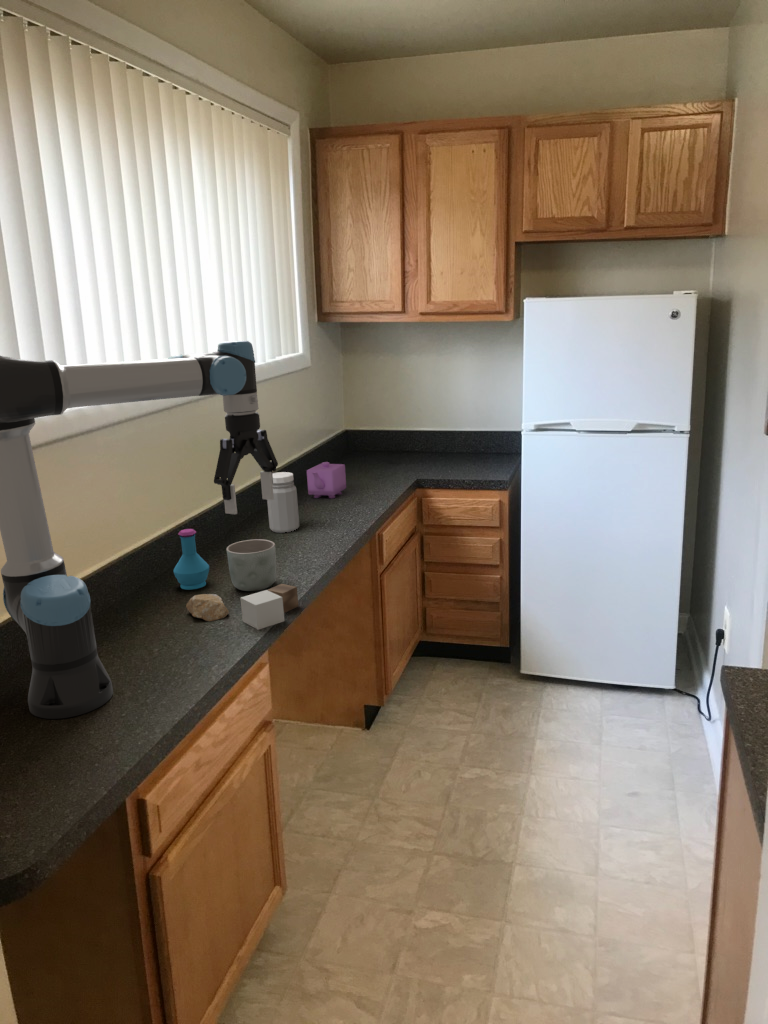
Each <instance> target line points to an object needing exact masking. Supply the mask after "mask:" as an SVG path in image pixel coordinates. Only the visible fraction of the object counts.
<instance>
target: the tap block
mask: <svg viewBox="0 0 768 1024" xmlns="http://www.w3.org/2000/svg"><path fill="white" fill-rule="evenodd" d="M239 600H240V608H241V618H242V622H243V623H245V624H246V625H249V626H250V627H252V628H254V629H256V630H258V631H259V630H262V629H264V628H268V627H271V626H274V625H277V624H280V623H284V622H285V613H284V610H283V599H282V597H281V596H279V595H277V594H274V593H272V592H270V591H268V589H264V590H260V591H257V592H255V593H251V594H249V595H245V596H241V597H240V599H239Z"/></svg>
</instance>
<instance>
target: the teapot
mask: <svg viewBox="0 0 768 1024" xmlns="http://www.w3.org/2000/svg"><path fill="white" fill-rule="evenodd" d="M306 479H307V482H306V483H307V491H308V494H307V495H309V496H313V498H314V499H317V498H318V499H319V498H321V497H322V496H328V499H336V495H337V496H338V495H339V496H340V495H342V494H343V493H342V492H343V491H345V489H347V480H346V479H347V477H346V465H345V463H344V464H342V463H330V462H328V461H324V462H321V463H318V464H317V465H315V466H313V467H311V468H309V469H306Z"/></svg>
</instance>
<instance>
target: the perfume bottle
mask: <svg viewBox="0 0 768 1024" xmlns="http://www.w3.org/2000/svg"><path fill="white" fill-rule="evenodd" d="M196 534H197V531H196V530H195V529H194V528H185V529H181V530H180V531H179V532H177V535H179V539H180V543H181V544H180V545H181V550H182V551H181V553H182V554H181V557H180V558H179V560H178V562H177V563H176V565H175V566H174V568H173V575H174V577H175V578H176V579H177V582H178V584H180V588H181V589H182V590H186V591H187V590H188V591H190V590H191V591H192V590H198V589H201V588H203V587H205V586H206V585H207V582H206V580H207V579H208V576H209V572H210V564H208V563H207V561H205V560H204V558H203V557H201V556H200V554H199V553H197V546H196Z"/></svg>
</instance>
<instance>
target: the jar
mask: <svg viewBox="0 0 768 1024" xmlns="http://www.w3.org/2000/svg"><path fill="white" fill-rule="evenodd" d="M272 475H273V495H274V499H273V500H266V503H267V512H268V523H269V529H270V530H271V531H272V532H273V533H278V534H279V533H280V534H285V532H287V533H291V531H292V532H295V531H297V530H298V528H299V527H300V517H299V505H298V502H299V501H298V493H297V487H296V485H295V482H294V473H293V472H289V471H287V472H286V471H281V472H280V471H279V472H272ZM296 529H297V530H296ZM294 530H295V531H294Z"/></svg>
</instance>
